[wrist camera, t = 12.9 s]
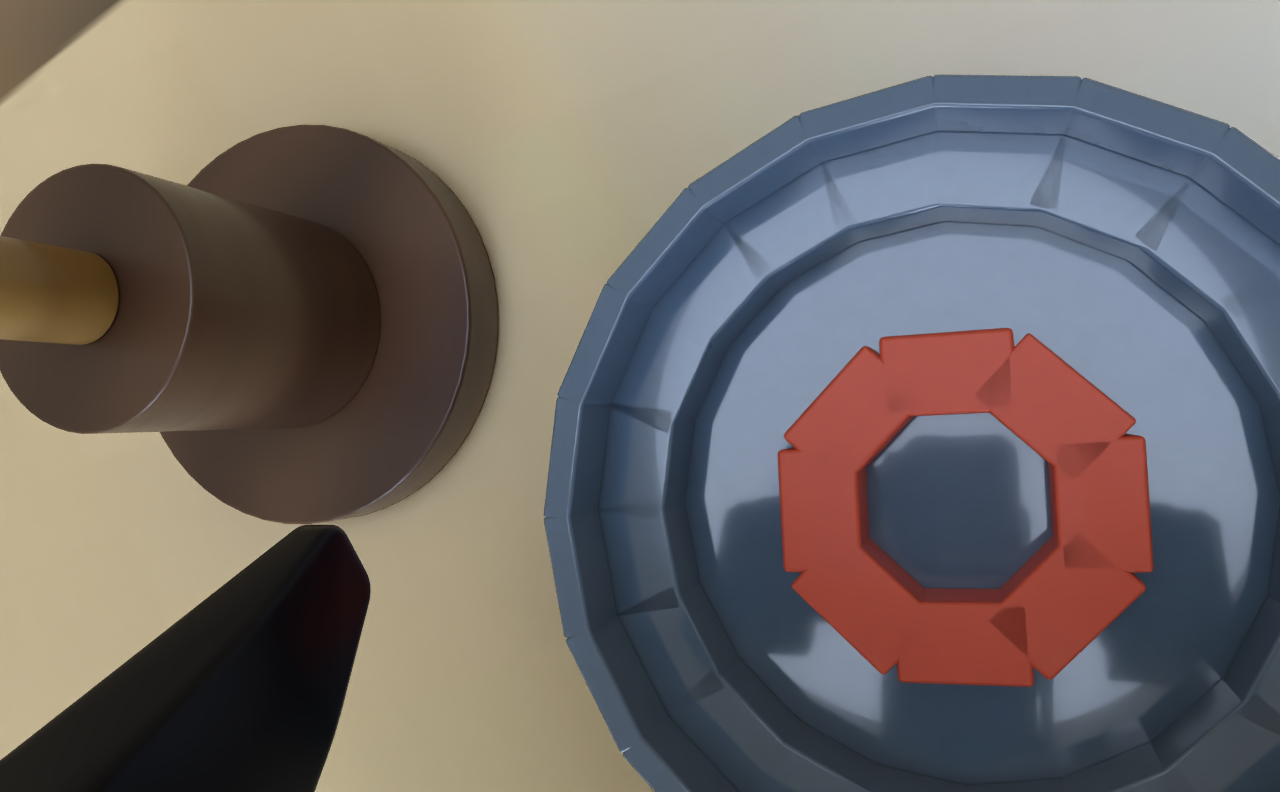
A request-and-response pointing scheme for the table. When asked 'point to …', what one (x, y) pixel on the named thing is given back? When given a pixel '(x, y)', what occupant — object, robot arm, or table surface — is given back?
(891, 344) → the ring
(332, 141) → the ring stand
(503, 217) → the table surface
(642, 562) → the dish
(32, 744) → the robot arm
